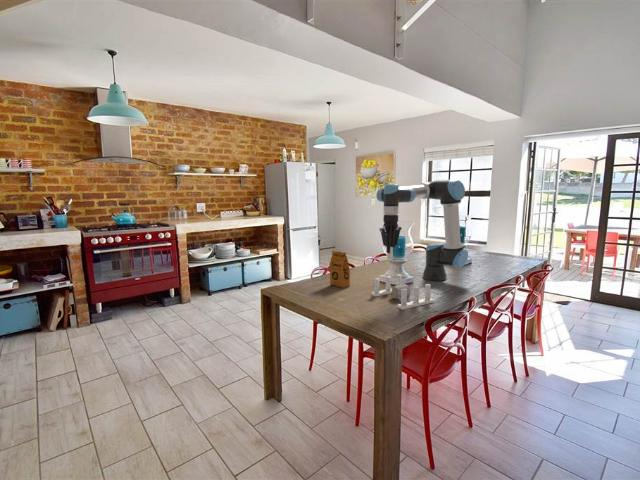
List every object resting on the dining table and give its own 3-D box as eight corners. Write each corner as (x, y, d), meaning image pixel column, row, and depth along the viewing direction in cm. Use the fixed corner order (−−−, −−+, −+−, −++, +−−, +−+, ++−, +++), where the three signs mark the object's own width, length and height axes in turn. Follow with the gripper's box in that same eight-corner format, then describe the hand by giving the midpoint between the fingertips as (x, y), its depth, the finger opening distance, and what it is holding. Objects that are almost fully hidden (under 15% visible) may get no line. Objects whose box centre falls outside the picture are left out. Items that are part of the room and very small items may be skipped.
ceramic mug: (390, 297, 183) (390, 283, 181) (403, 295, 185) (403, 282, 184) (399, 303, 173) (400, 289, 171) (413, 301, 175) (414, 288, 173)
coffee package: (341, 289, 199) (340, 254, 195) (327, 285, 208) (327, 251, 205) (352, 286, 205) (352, 251, 202) (339, 282, 214) (338, 249, 211)
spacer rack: (400, 289, 196) (400, 273, 195) (433, 302, 173) (434, 285, 171) (371, 294, 187) (371, 278, 186) (402, 309, 164) (402, 291, 162)
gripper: (385, 215, 163) (384, 261, 167) (405, 214, 169) (404, 258, 172) (376, 214, 170) (375, 258, 173) (396, 213, 176) (395, 256, 179)
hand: (390, 258), depth 173 cm, fingers closed
